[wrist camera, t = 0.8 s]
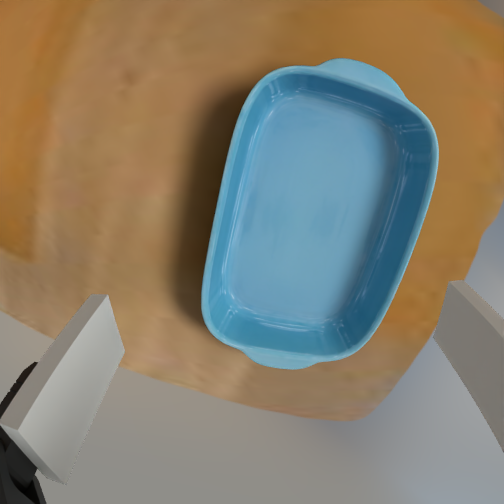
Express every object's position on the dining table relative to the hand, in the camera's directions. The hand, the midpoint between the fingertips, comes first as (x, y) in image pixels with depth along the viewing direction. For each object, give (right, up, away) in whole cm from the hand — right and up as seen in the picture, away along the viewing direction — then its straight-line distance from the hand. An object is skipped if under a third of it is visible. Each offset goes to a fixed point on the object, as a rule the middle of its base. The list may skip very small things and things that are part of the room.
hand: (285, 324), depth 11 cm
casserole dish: (+6, +7, +27) cm, 29 cm away
